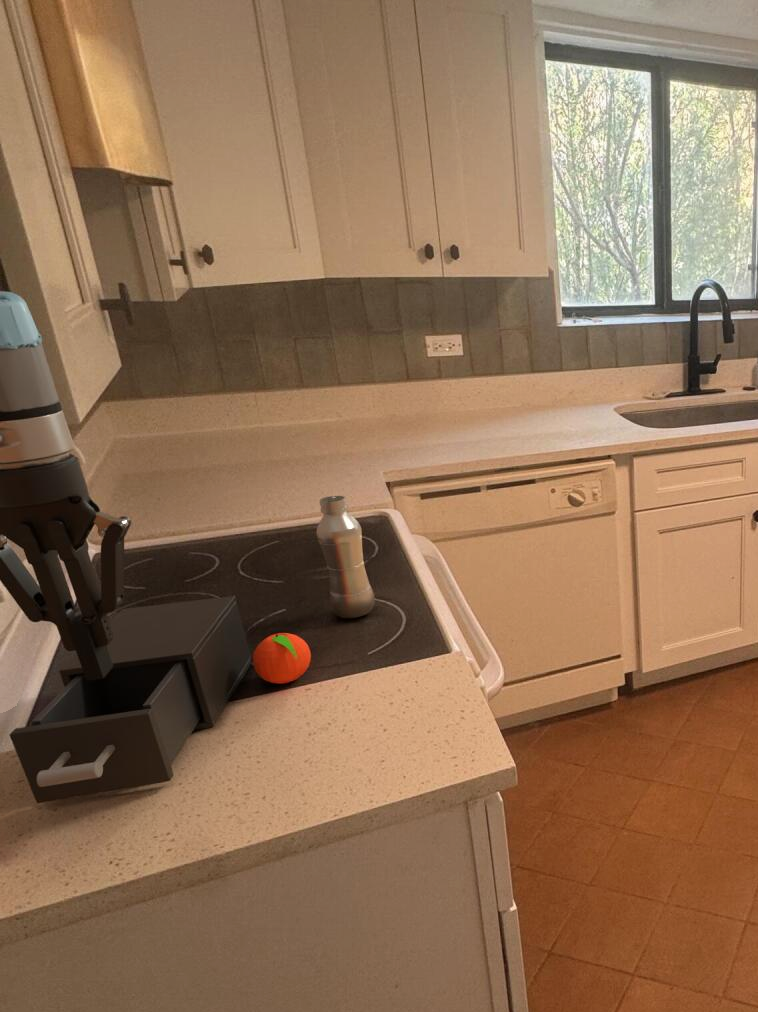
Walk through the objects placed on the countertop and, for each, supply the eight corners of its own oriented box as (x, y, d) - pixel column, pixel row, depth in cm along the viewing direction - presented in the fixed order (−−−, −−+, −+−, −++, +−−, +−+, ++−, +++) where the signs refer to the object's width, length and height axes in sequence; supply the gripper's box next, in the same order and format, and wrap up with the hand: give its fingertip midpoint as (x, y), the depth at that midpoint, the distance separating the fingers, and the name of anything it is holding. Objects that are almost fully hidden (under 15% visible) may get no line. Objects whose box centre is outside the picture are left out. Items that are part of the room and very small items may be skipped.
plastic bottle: (361, 602, 133) (338, 490, 126) (386, 611, 130) (364, 496, 123) (325, 617, 128) (299, 501, 121) (350, 626, 125) (325, 508, 118)
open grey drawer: (152, 810, 83) (128, 739, 80) (10, 835, 79) (-20, 762, 76) (217, 704, 102) (200, 644, 99) (105, 720, 99) (83, 659, 96)
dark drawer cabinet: (213, 727, 99) (192, 652, 95) (86, 746, 95) (58, 670, 91) (252, 661, 115) (235, 595, 111) (144, 676, 111) (122, 608, 107)
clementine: (329, 678, 110) (319, 632, 107) (279, 700, 104) (267, 653, 102) (299, 663, 114) (288, 619, 111) (249, 684, 108) (237, 638, 106)
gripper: (-84, 476, 70) (7, 703, 78) (91, 461, 74) (160, 679, 82) (-37, 456, 77) (42, 668, 85) (121, 444, 81) (182, 647, 89)
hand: (100, 673), depth 83 cm, fingers closed
